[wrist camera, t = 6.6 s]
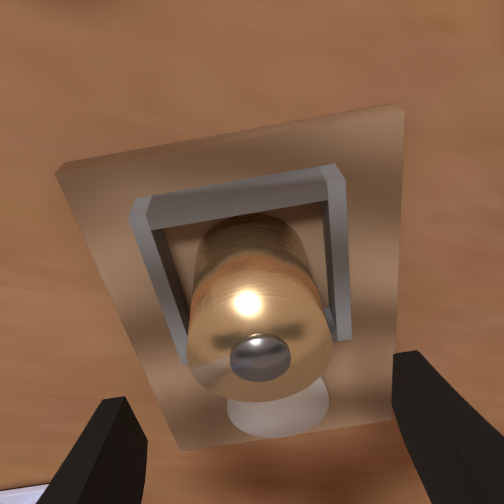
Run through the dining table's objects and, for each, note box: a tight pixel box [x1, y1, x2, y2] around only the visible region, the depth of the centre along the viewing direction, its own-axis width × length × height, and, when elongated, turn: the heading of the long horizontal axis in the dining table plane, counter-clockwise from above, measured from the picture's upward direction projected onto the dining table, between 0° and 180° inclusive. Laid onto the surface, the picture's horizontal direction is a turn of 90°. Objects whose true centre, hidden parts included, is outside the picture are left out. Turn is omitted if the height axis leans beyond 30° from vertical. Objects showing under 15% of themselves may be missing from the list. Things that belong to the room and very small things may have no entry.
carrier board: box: [55, 104, 405, 452], centre depth 18 cm, size 17×12×2 cm
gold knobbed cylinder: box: [186, 213, 333, 402], centre depth 14 cm, size 4×4×5 cm
